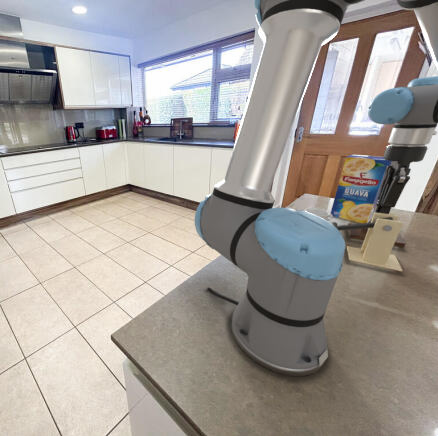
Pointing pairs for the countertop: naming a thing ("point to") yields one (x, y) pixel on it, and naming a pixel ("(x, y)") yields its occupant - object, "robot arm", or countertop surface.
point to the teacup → (319, 213)
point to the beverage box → (359, 187)
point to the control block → (362, 233)
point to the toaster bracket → (379, 243)
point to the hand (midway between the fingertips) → (376, 225)
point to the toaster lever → (357, 225)
